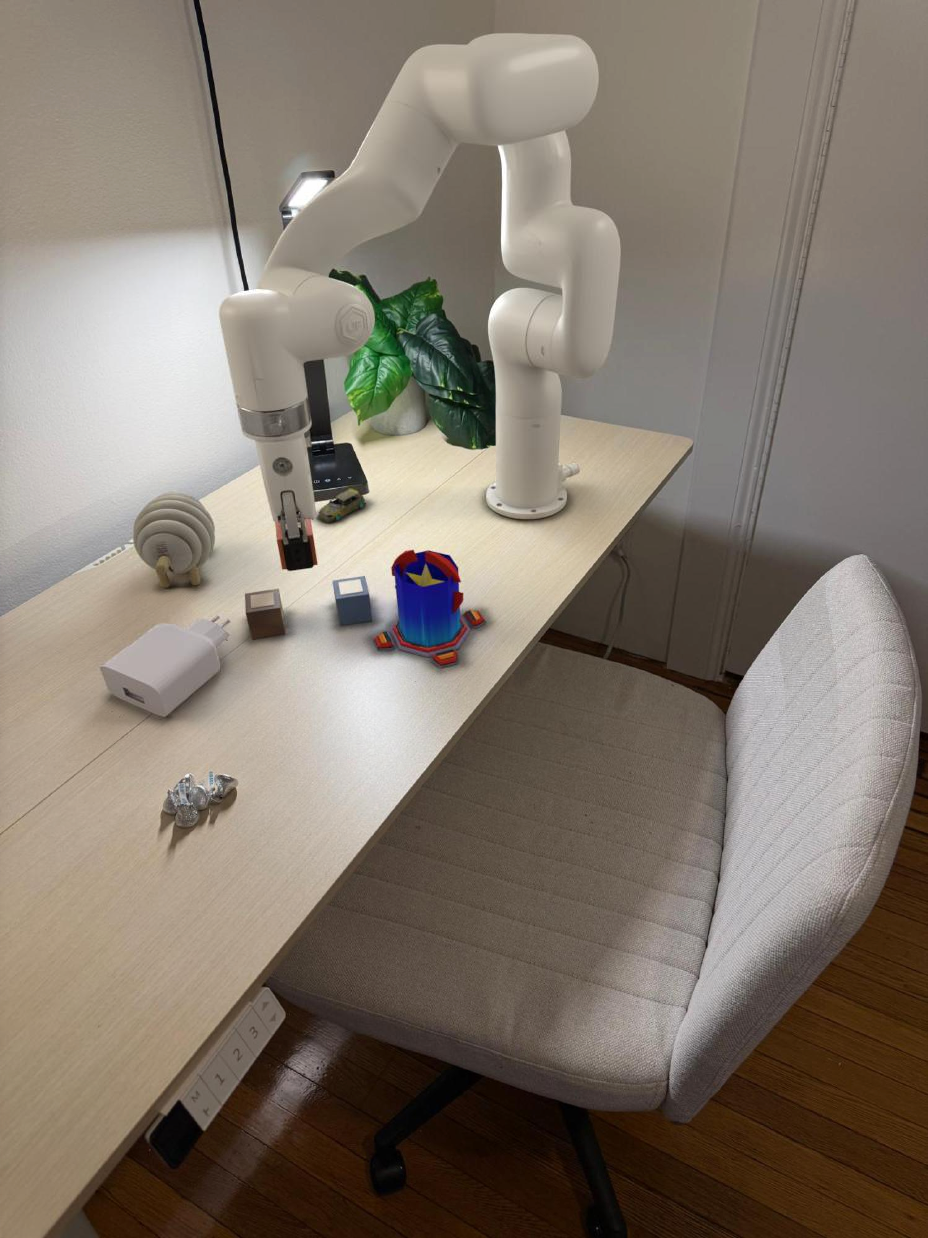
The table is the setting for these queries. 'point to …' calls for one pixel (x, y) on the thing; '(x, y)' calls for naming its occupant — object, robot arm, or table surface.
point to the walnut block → (264, 614)
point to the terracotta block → (309, 534)
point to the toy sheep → (174, 536)
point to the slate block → (352, 600)
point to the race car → (341, 505)
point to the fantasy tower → (428, 608)
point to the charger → (165, 665)
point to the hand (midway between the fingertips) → (298, 555)
